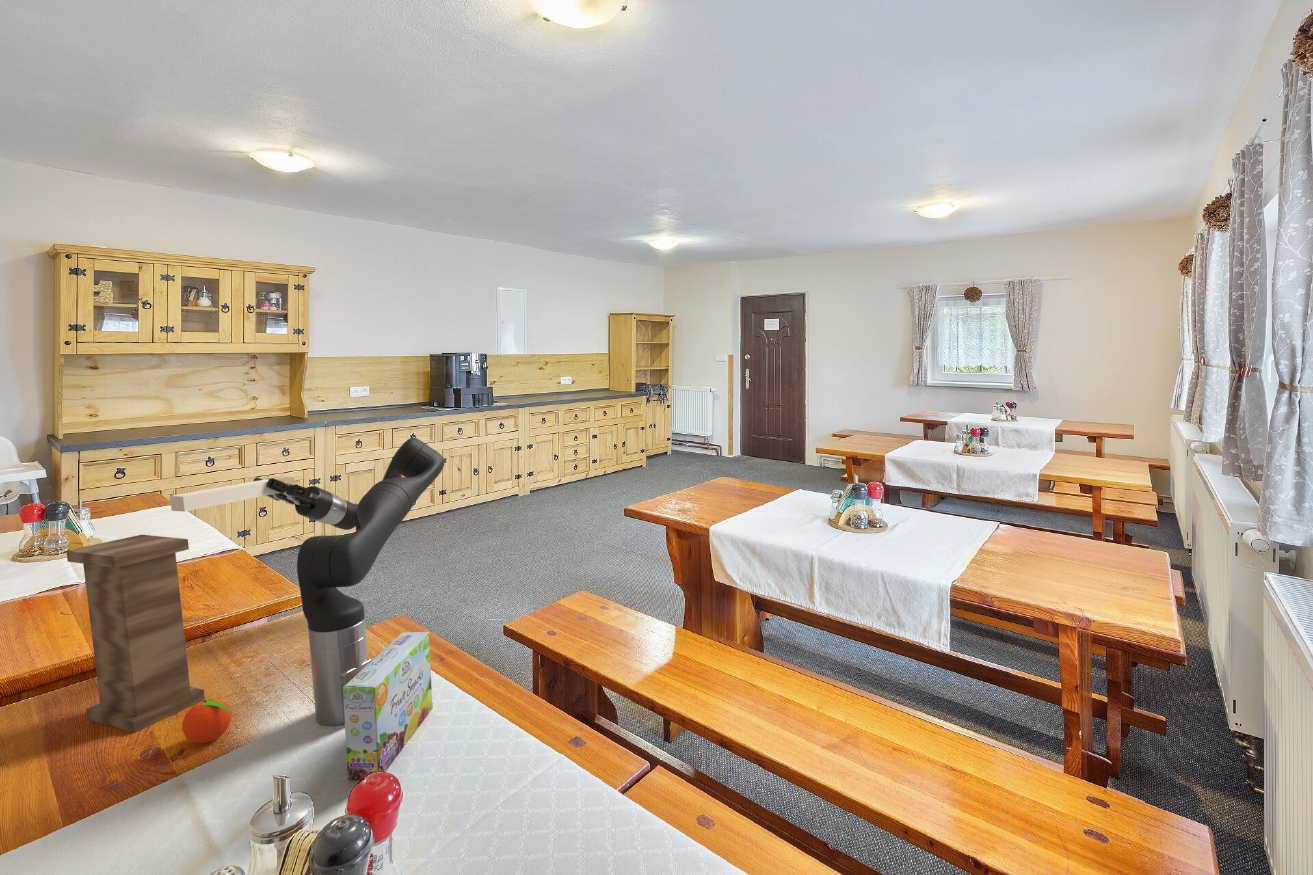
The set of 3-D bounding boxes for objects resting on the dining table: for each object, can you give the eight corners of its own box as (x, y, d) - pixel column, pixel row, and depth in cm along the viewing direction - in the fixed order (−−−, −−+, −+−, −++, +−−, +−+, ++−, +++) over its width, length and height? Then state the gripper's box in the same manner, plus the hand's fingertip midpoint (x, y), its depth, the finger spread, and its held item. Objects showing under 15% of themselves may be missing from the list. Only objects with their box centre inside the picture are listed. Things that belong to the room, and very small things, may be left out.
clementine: (248, 729, 109) (245, 690, 109) (217, 752, 102) (213, 711, 102) (207, 727, 110) (203, 689, 110) (173, 751, 103) (168, 710, 103)
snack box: (382, 781, 94) (375, 686, 92) (346, 782, 94) (338, 687, 92) (435, 707, 115) (430, 629, 113) (405, 708, 115) (400, 630, 114)
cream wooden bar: (295, 490, 144) (293, 476, 144) (185, 512, 122) (183, 496, 121) (282, 489, 145) (281, 476, 145) (171, 511, 123) (169, 495, 123)
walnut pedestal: (204, 699, 120) (187, 539, 117) (134, 732, 109) (113, 556, 106) (159, 688, 126) (141, 534, 123) (87, 719, 114) (66, 550, 111)
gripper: (306, 490, 157) (246, 465, 142) (348, 492, 152) (290, 467, 137) (295, 519, 154) (232, 496, 140) (337, 522, 149) (277, 499, 134)
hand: (261, 482), depth 138 cm, fingers closed on cream wooden bar, 4 cm apart
